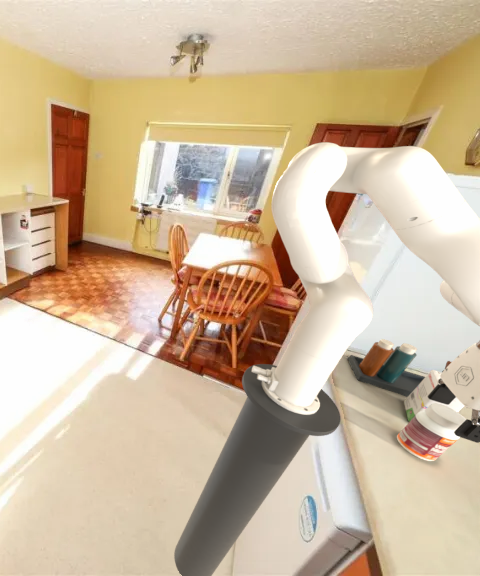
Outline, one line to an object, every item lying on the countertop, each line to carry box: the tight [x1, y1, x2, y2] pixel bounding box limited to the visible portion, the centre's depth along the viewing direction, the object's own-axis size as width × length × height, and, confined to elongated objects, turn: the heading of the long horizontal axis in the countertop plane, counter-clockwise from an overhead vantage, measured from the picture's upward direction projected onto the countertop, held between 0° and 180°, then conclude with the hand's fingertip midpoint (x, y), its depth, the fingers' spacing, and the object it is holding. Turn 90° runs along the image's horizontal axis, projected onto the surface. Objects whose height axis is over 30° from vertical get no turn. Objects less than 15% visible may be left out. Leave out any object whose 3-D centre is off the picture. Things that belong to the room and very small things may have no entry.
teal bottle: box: [377, 342, 418, 383], centre depth 76 cm, size 4×4×12 cm
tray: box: [347, 354, 426, 397], centre depth 77 cm, size 19×11×2 cm, turn 62°
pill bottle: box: [396, 403, 467, 462], centre depth 57 cm, size 6×6×11 cm
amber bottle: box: [359, 338, 395, 376], centre depth 77 cm, size 4×4×11 cm
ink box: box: [403, 369, 465, 423], centre depth 64 cm, size 8×5×12 cm, turn 139°
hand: (450, 418), depth 54 cm, fingers open, 9 cm apart
